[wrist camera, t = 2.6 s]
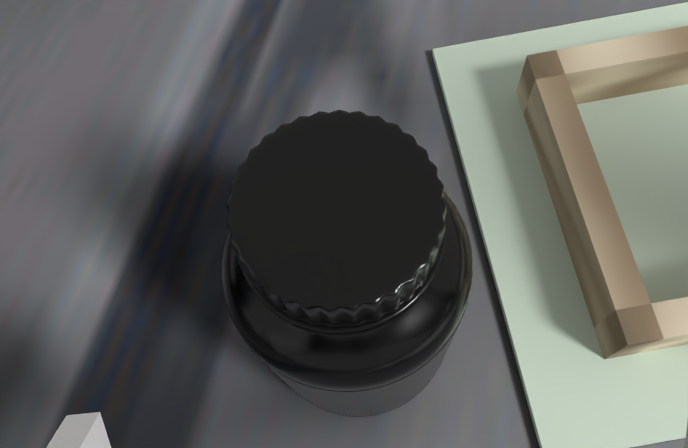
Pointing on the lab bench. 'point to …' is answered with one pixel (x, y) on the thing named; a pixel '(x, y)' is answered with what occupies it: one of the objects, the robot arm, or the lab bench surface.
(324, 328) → the supplement bottle
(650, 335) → the wooden square frame
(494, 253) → the mat
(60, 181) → the lab bench surface
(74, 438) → the robot arm
